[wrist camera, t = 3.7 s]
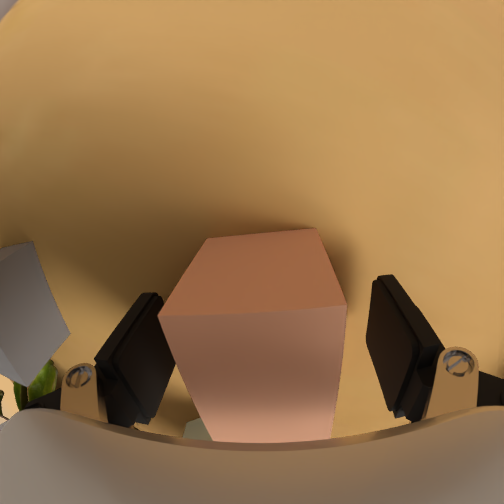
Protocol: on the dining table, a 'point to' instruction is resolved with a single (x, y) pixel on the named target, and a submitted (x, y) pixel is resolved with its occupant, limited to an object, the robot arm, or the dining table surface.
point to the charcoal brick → (26, 315)
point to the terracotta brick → (260, 336)
